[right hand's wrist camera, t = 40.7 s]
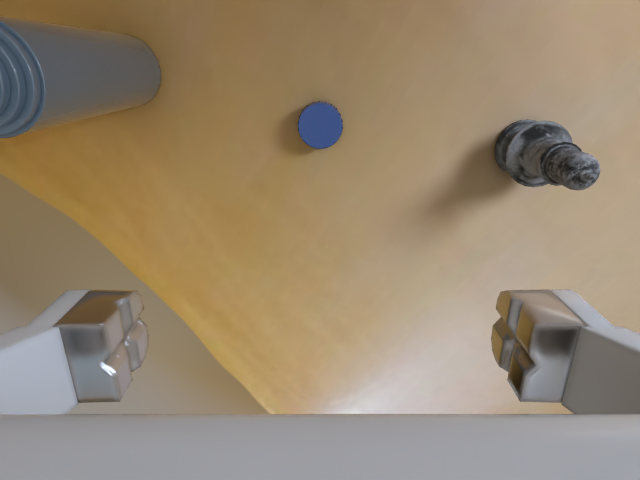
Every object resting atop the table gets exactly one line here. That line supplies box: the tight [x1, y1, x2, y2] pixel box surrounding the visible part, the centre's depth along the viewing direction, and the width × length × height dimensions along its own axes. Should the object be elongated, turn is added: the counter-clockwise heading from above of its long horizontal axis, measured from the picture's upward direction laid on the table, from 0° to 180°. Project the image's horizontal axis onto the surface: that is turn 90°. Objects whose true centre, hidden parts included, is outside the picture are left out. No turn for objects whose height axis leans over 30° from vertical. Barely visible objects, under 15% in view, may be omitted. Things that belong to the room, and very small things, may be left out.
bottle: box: [0, 16, 161, 138], centre depth 29 cm, size 6×6×24 cm
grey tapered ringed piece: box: [495, 120, 600, 190], centre depth 37 cm, size 6×6×12 cm
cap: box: [298, 101, 343, 149], centre depth 41 cm, size 4×4×2 cm
